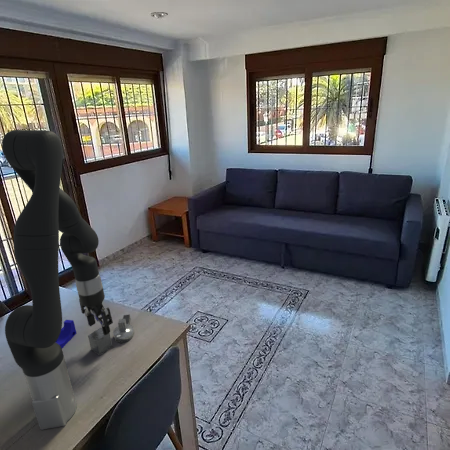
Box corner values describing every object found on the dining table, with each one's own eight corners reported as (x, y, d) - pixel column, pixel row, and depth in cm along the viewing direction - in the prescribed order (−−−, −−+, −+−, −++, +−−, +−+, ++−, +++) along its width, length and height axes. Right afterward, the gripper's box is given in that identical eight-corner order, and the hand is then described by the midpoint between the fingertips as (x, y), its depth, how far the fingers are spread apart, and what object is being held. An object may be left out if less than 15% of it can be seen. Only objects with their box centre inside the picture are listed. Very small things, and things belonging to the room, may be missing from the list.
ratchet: (133, 340, 113) (130, 325, 111) (112, 343, 112) (109, 328, 110) (136, 317, 125) (134, 303, 123) (118, 320, 124) (115, 306, 122)
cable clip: (66, 332, 119) (62, 319, 117) (76, 333, 118) (73, 320, 116) (43, 355, 108) (38, 341, 106) (54, 357, 107) (50, 342, 105)
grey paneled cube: (112, 346, 110) (109, 332, 108) (99, 355, 107) (96, 340, 105) (103, 341, 113) (100, 327, 111) (91, 349, 109) (87, 335, 107)
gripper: (113, 289, 101) (121, 330, 106) (88, 277, 108) (97, 316, 114) (92, 300, 95) (102, 343, 101) (67, 287, 103) (77, 327, 109)
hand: (99, 329), depth 108 cm, fingers open, 8 cm apart
